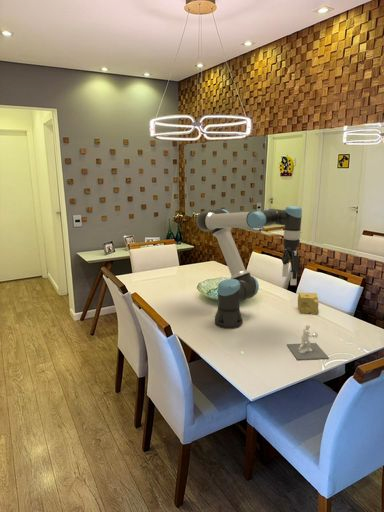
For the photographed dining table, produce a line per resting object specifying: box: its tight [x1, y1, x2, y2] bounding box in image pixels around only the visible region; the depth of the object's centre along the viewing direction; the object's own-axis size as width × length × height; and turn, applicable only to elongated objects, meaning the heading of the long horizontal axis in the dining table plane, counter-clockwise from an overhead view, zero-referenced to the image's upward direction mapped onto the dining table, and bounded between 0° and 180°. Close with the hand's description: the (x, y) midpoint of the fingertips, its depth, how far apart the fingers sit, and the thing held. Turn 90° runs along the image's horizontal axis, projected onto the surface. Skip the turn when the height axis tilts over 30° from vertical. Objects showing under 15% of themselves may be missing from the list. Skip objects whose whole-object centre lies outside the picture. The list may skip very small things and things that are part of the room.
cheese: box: [297, 292, 320, 316], centre depth 206 cm, size 10×11×10 cm
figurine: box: [298, 324, 319, 353], centre depth 158 cm, size 5×9×12 cm, turn 122°
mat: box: [286, 342, 330, 361], centre depth 159 cm, size 14×14×1 cm
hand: (288, 280), depth 176 cm, fingers open, 13 cm apart
